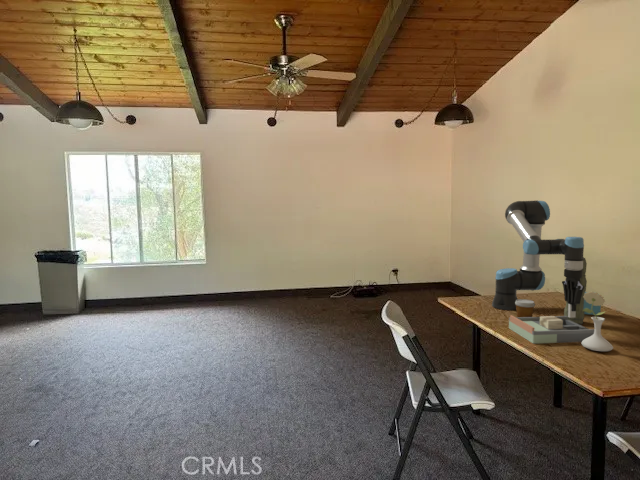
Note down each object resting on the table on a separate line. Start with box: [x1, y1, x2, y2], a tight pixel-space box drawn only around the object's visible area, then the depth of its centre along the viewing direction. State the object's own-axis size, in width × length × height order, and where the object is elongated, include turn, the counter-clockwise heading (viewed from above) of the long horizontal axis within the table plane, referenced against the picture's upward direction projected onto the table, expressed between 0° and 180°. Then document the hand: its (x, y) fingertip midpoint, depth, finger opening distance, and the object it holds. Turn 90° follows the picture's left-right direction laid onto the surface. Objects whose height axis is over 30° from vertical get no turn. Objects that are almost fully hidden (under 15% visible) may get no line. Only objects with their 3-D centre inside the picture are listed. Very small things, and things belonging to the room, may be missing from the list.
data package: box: [583, 291, 602, 316], centre depth 224 cm, size 12×4×12 cm, turn 69°
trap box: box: [508, 314, 595, 344], centre depth 192 cm, size 22×30×7 cm
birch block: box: [539, 315, 563, 329], centre depth 191 cm, size 7×7×4 cm
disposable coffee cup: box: [515, 298, 536, 317], centre depth 209 cm, size 10×10×12 cm
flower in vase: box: [580, 291, 614, 352], centre depth 172 cm, size 13×11×25 cm
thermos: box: [563, 256, 588, 326], centre depth 208 cm, size 9×12×35 cm
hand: (571, 317), depth 191 cm, fingers closed
